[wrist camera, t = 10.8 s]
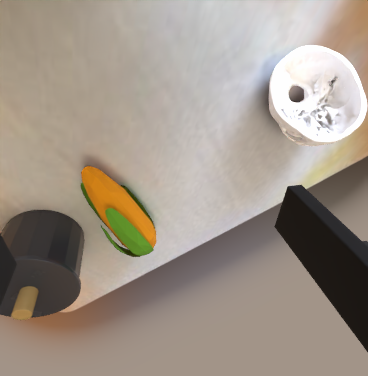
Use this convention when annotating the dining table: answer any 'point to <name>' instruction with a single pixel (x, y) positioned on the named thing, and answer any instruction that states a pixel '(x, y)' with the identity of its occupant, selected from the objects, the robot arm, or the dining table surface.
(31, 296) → the pot lid
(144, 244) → the corn
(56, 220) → the pot
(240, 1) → the dining table surface
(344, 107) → the skull bowl
